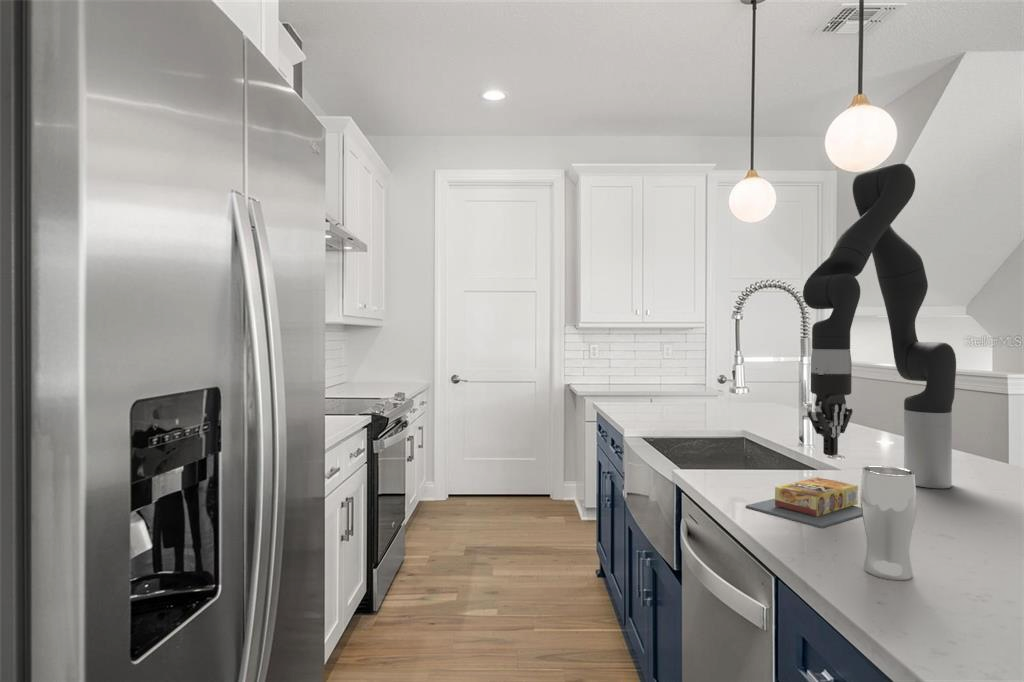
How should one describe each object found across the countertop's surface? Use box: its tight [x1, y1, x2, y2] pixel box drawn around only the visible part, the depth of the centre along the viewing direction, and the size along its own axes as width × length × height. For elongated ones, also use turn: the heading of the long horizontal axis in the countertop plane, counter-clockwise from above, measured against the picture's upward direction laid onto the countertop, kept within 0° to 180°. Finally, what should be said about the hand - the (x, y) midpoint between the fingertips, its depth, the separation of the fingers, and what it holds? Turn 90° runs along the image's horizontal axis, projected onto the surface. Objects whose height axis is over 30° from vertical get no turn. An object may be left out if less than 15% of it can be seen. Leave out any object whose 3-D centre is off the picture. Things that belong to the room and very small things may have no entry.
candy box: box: [774, 476, 859, 517], centre depth 123 cm, size 9×4×15 cm
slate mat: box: [745, 498, 863, 529], centre depth 121 cm, size 18×16×1 cm
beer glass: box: [860, 465, 917, 581], centre depth 89 cm, size 7×7×15 cm
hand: (830, 454), depth 126 cm, fingers closed
